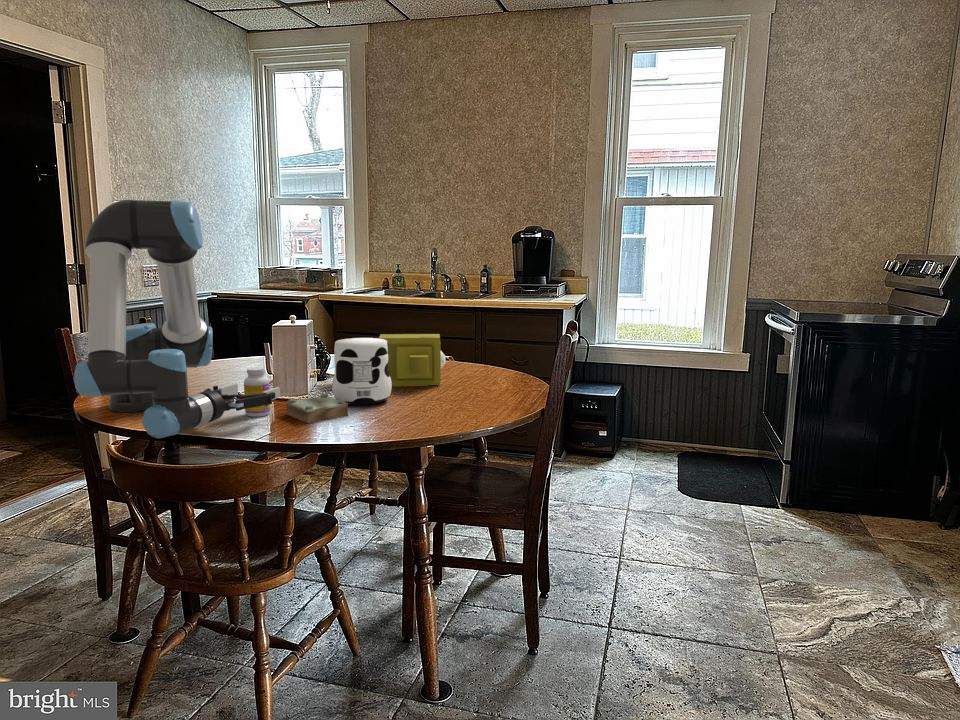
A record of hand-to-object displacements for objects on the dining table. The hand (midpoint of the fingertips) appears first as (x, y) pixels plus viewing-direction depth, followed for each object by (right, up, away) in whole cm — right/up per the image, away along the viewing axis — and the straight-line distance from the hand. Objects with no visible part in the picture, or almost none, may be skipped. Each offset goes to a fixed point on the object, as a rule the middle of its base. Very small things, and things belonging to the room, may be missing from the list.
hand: (257, 390), depth 184 cm
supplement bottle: (0, -7, +2) cm, 7 cm away
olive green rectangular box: (+32, 0, +39) cm, 51 cm away
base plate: (+16, -7, +1) cm, 17 cm away
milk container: (+26, -4, +18) cm, 31 cm away
